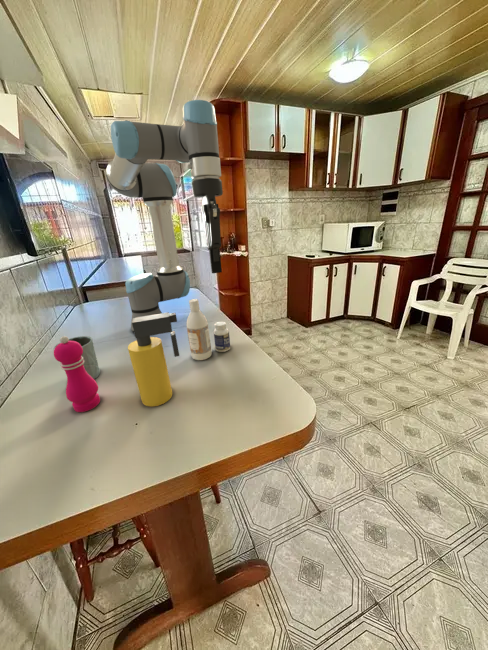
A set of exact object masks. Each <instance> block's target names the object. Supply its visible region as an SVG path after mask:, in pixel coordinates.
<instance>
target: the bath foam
mask: <svg viewBox="0 0 488 650" xmlns="http://www.w3.org/2000/svg"><path fill="white" fill-rule="evenodd" d="M188 303H189V310H190V311H189V314H188V316H187V317H186V318H187V319H186V330H187V331H186V332H187V338H188V343H189V350H190V355H191V358H192V359H193V360H195V361H204V360H208V359H209V358H210V357H211V356H212V354H213V352H212V344H211V337H210V330H209V329H210V327H209V322H208V320H207V317H206V316H205V314H204V313H203V312H202V311H201V310H200V302H199V299H197V298H193V299H190V300H188Z"/></svg>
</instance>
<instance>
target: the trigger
mask: <svg viewBox="0 0 488 650" xmlns="http://www.w3.org/2000/svg"><path fill="white" fill-rule="evenodd" d="M169 333H170V339H171V340H170V341H171V344H172V350H173V356H174V357H175V358H176V357H180V351H179V346H178V345H179V344H178V340H177V334H176V331H175V330H172V332H169Z"/></svg>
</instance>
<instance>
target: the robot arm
mask: <svg viewBox="0 0 488 650" xmlns="http://www.w3.org/2000/svg"><path fill="white" fill-rule="evenodd" d="M216 117H217V116H216V109H215V106H214V104H213V103H211V102H210V101H208V100H204V99H193V100H188V101H187V102H185V103H184V104H183V106H182V120H183V124H182V125H171V124H161V123H160V124H159V123H148V122H139V121H131V120H114V121H112V122H111V124H110V137H111V138H110V139H111V143H112V148H113V150H114V153H115V154H114V156H113V158H112V160H111V161H109V163H107V166H106V170H105V177H106V181H107V182H108V184H109V186H110V187H111V188H112V189H113V190H114V191H115V192H117V193H118V194H121V195H122V196H124V197H127V198H133V199H136V198H137V199H138V198H141V199H142V203H143V204H144V205H145V206H146V207H147V208H148V213H149V218H150V223H151V230H152V235H153V240H154V245H155V251H156V256H157V261H158V262H157V263H158V268H157V269H156V275H154V274H153V273H151V272H147V273H140V274H138V275H134V276H132V277H129V278H127V279H126V281H125V283H124V284H125V292H126V294H127V297H128V303H129V306H130V310H131V319H130V320H131V321H130V329H131V332H132V333H134V330H133V326H132V320H133V318H136V317H142V316H148V315H155V314H161V313H163V312H162V311H161V309H160V304H159V303H163V302H167V301H171V300H175V299H181V298H184V297H187V296H188V295H189V293H190V290H191V280H190V277H189V276H190V275H189V273H188V271H186V270H184V267H183V266H182V265H180V261H179V255H178V248H177V241H176V236H175V229H174V223H173V215H172V210H171V205H172V204H173V202H174V197H176V196H177V183H176V179H175V176H174V175H175V174H174V173H173V171H172V170H171V168H170V167H169V165H167V164H165V163H157V162H147V161H148V160H158V161H159V160H160V161H161V160H162V161H176V162H177V163H180V164H186V163H189V164H187V169H188V170H190V177H191V179H193V181H191V186H192V195H193V197H194V198H198V199H201V198H202V204H200V211H201V216H202V220H203V221H202V222H203V227H204V234H205V238H206V239H205V240H206V246H207V250H208V253H209V261H210V263H209V264H210V270H211V271H210V272H211V274H220V273H223V269H222V259H221V258H222V257H221V250H220V248H222V238H221V237H222V236H221V209H220V207H219V203H217V199H216V197H221V196H223V194H224V191H223V181H222V180H221V177H222V168H221V158H220V147H219V135H218V121H217V118H216Z"/></svg>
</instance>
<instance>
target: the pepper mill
mask: <svg viewBox="0 0 488 650" xmlns="http://www.w3.org/2000/svg"><path fill="white" fill-rule="evenodd" d="M69 339H70V338H69V337H68V336H65V335H63V336H61V337H60V338H59V343H60V342H61V343H60V344H59V343H57V344H58V345H57V344H56V345H57V346H56V345H55V346H56V347H55V346H54V347H55V349H54V348H53V357H54V359H55V360H56V361H57V362H58V363H59V365H60V367H61V370H63V371H64V370H65V371H64V373H65V376H66V379H67V381H66V382H67V383H66V387H65V395H66V399H67V400H68V401H69V402H71V403H72V404H71V405H72V409H73V410H74V412H77V413H85V412H88V411H91V410H93V409H95V408H96V407H97V406H98V405H99V404H100V402H101V397H100V395H99V393H98V391H99V385H98V382H97V381H96V379H93V378H92V377H91V376H90V375H89V374H88V373H87V372H86V370H85V368H84V365H83V364H84V360H83V357H82V356H81V355H82V353H83V348H82V346H81V345H80V344H79V343H78V342H76V341H69ZM60 362H61V363H60Z"/></svg>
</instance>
